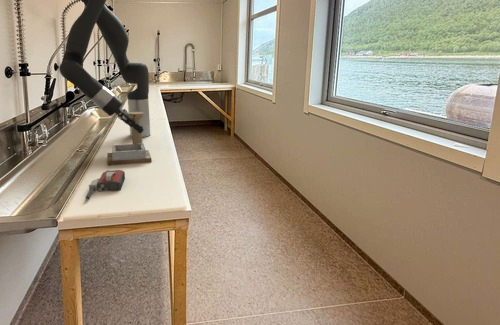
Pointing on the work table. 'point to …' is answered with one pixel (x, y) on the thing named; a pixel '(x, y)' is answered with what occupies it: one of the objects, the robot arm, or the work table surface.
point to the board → (132, 161)
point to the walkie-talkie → (107, 182)
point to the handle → (136, 117)
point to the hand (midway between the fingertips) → (141, 130)
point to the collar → (128, 151)
